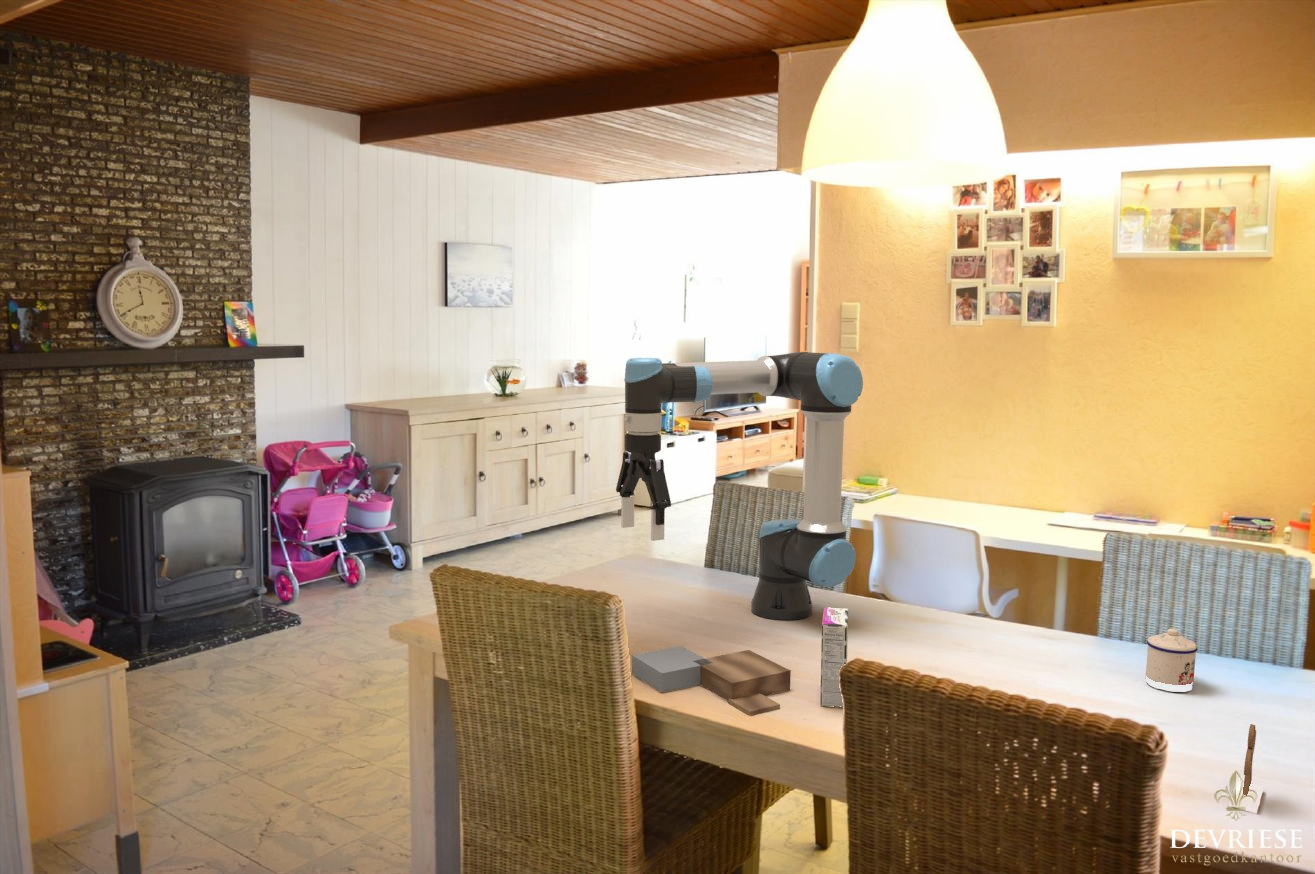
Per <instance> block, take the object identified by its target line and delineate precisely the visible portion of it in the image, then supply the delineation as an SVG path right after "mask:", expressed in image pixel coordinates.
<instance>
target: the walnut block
mask: <svg viewBox="0 0 1315 874" xmlns="http://www.w3.org/2000/svg"><path fill="white" fill-rule="evenodd" d="M704 658H705V657H704ZM700 660H701V661H698V660H696V661H693V662H695V663H697V664H700V663H701V662H704V664H703V663H701V664H703V665H701V664H700V665H701V671H700V685H699V686H701V687H704V689H706V690H708V691H710V692H712V693H713V694H715V695H717V696H719V697H720V698H722V699H724V700H725V701H727V702H728V699H736V698H740V697H744V696H749V695H753V694H758V693H760V694H762V695H764V696H766V697H767V696H769V695H774V694H779V693H783V692H788V691H791V677H792V676H791V675H792V673H791V671H792V670H790V669H789V668H786V667H784V666H782V665H780V664H778V663H776V662H775V661H772V660H770V659H769V658H767V657H764V656H763V655H760V654H759V653H756V652H755V651H752V650H751V649H746V650H742V651H741V650H740V651H736V652H731V653H726V654H722V655H715V656H711V657H706V658H705V659H703V661H702V659H700ZM706 660H707V661H706ZM708 661H709V662H712V663H709V662H708ZM705 662H706V663H705ZM708 663H709V664H708ZM705 664H706V665H705Z"/></svg>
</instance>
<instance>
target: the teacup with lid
mask: <svg viewBox="0 0 1315 874" xmlns="http://www.w3.org/2000/svg"><path fill="white" fill-rule="evenodd" d="M1146 644H1147V654H1146V665H1145V666H1146V667H1145V677H1146V676H1147V677H1148V678H1149V679H1151V680H1153V681H1155V682H1161V683H1165V684H1172V685H1186V684H1191V683H1192V682H1193V683H1195V682H1194V680H1195V667H1196V654H1197V652H1198V645H1197V644H1196V643H1195V642H1194V641H1192V640H1191V639H1189V638H1186V637H1184V635H1181V634H1179V630H1178V629H1175V628H1168V629H1167V632H1163V633H1161V634H1155V635H1151V636H1149V637H1148V638H1147V641H1146Z"/></svg>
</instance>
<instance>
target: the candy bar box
mask: <svg viewBox="0 0 1315 874" xmlns="http://www.w3.org/2000/svg"><path fill="white" fill-rule="evenodd" d="M848 637H849V608H844V607H843V608H842V607H832V606H827V607H823V615H822V623H821V647H820V648H821V653H820V654H821V655H820V656H821V657H820V706H821V707H823V706H834V707H833V708H835V707H839V708H840V706H841V708H840V709H844V708H843V702H842V696H841V692H840V688H839V670H840V668H841V666H843V665H844V664H846V663H847V664H848V643H849V642H848V641H849V638H848ZM839 708H838V709H839Z"/></svg>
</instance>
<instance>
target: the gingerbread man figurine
mask: <svg viewBox="0 0 1315 874" xmlns="http://www.w3.org/2000/svg"><path fill="white" fill-rule="evenodd" d="M1249 725H1250V726H1249V729H1248V733H1247V734H1248V736H1247V750H1246V753H1245V759H1244V767H1243V775H1244V780H1243V782H1244V787H1243V794H1244V795H1246V796H1247V794H1248V791H1249V786H1250V784H1251V781H1252V780H1253V778H1252V777H1253V775H1252V774H1253V773H1252V772H1253V759H1254V753H1255V746H1256V740H1257V730H1256V724H1253V723H1251V724H1249Z"/></svg>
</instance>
